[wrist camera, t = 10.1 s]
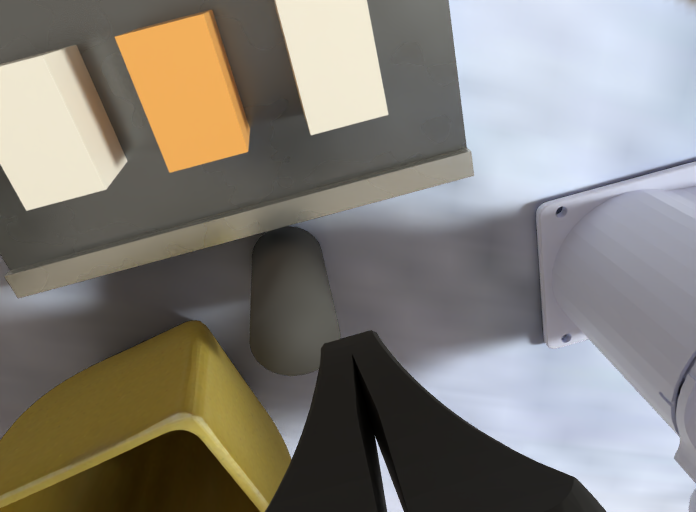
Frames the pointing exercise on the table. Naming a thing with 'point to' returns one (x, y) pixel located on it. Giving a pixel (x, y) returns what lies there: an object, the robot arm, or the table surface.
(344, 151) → the panel
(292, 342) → the cylinder
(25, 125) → the block
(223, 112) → the block
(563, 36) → the table surface
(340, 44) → the block
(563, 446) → the table surface
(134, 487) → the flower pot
